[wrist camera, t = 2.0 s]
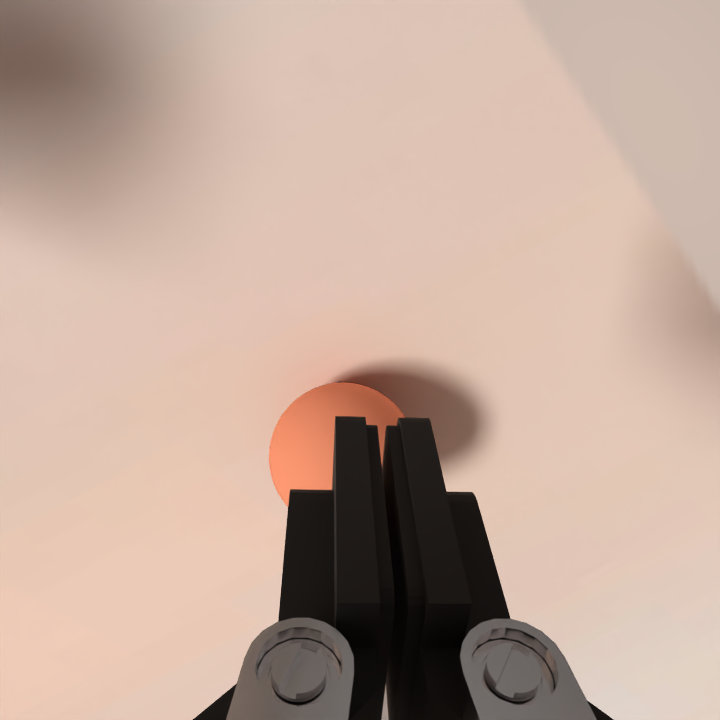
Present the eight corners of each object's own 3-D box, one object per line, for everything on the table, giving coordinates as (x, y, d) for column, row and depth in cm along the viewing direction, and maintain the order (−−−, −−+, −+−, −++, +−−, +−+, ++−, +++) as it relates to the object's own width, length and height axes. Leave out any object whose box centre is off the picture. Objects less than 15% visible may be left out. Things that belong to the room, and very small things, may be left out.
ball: (273, 353, 27) (260, 440, 22) (414, 357, 27) (434, 444, 22) (275, 464, 30) (264, 563, 25) (402, 466, 30) (416, 564, 25)
